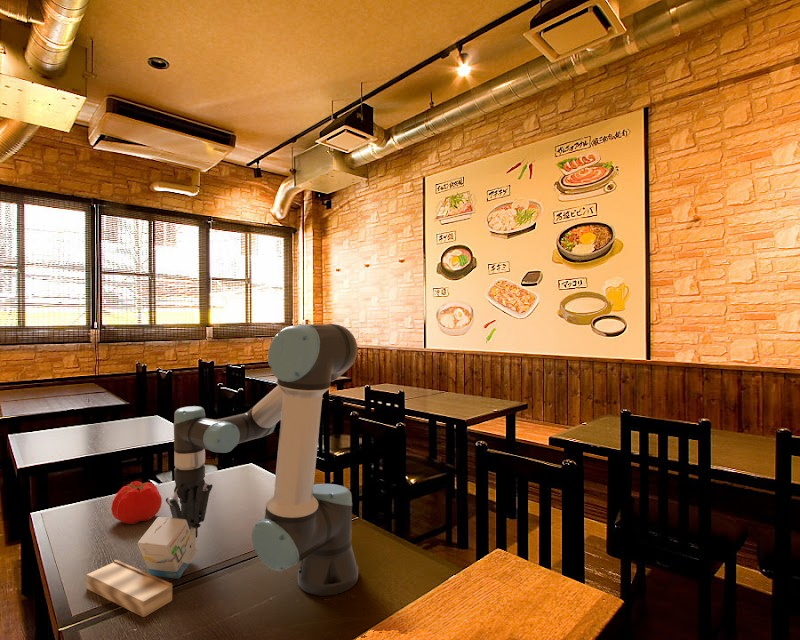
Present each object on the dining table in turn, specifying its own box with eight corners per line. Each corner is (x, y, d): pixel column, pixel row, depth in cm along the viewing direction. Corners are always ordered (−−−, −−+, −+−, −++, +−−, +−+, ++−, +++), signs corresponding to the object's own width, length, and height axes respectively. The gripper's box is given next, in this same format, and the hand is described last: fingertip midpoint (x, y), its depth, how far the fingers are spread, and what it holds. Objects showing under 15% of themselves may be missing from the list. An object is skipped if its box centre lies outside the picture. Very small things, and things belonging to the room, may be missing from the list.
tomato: (164, 522, 150) (164, 485, 150) (112, 533, 142) (112, 494, 142) (158, 507, 161) (158, 473, 161) (110, 517, 153) (110, 481, 153)
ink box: (179, 579, 118) (166, 546, 113) (149, 575, 120) (135, 543, 115) (198, 550, 126) (186, 518, 121) (170, 547, 127) (157, 515, 122)
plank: (172, 600, 110) (172, 583, 110) (143, 617, 103) (143, 599, 103) (116, 574, 120) (116, 559, 120) (87, 588, 114) (86, 572, 114)
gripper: (201, 456, 134) (201, 537, 135) (158, 469, 123) (159, 558, 124) (219, 460, 130) (219, 544, 131) (177, 475, 119) (177, 567, 120)
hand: (190, 551), depth 127 cm, fingers closed
